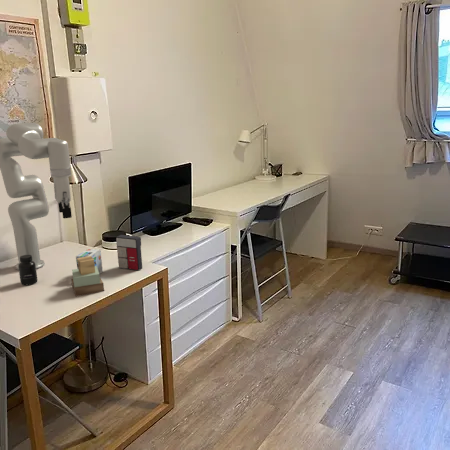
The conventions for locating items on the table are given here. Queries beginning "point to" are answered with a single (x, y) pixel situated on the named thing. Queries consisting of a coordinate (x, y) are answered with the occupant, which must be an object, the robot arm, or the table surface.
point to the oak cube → (86, 265)
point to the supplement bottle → (27, 270)
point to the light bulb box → (94, 254)
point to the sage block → (85, 278)
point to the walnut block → (88, 288)
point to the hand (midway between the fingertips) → (65, 214)
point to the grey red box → (129, 252)
